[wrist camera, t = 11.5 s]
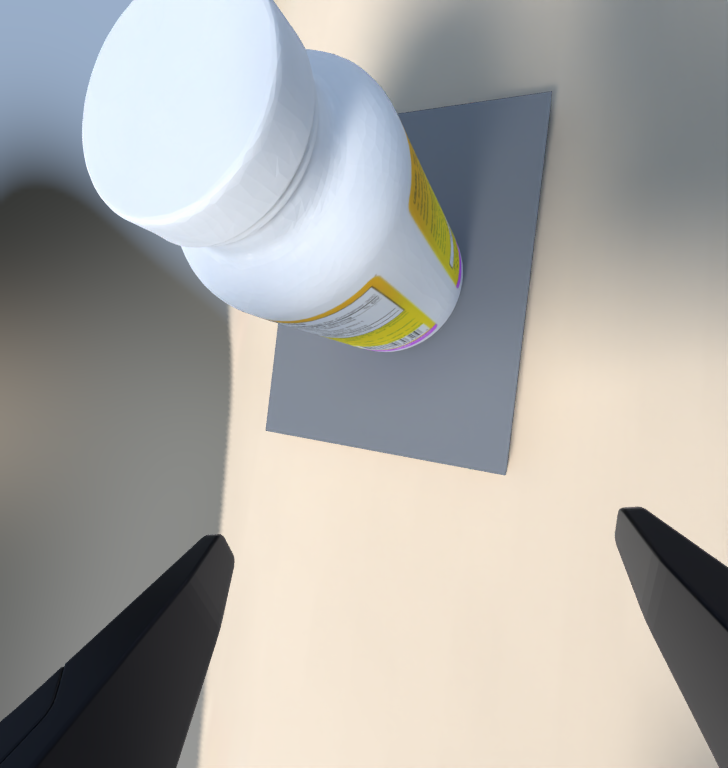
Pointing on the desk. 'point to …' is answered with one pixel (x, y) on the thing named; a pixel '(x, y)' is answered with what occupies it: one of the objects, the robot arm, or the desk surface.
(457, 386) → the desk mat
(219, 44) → the supplement bottle
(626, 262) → the desk surface
